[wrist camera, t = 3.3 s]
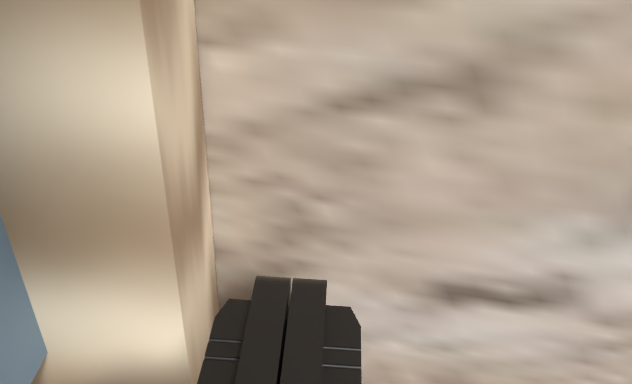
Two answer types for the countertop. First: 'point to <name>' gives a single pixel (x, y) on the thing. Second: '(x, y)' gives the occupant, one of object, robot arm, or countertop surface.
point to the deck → (108, 186)
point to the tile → (16, 322)
